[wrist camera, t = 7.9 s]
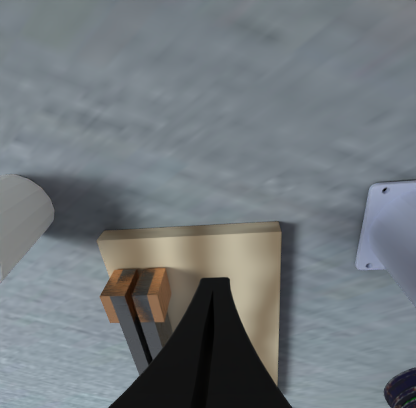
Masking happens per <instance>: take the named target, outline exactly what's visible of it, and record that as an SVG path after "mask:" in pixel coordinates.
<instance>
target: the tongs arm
mask: <svg viewBox="0 0 416 408" xmlns="http://www.w3.org/2000/svg"><path fill="white" fill-rule="evenodd" d="M132 298H133V301H134V304H135V307H136V311H137V314H138V317H139V320H140V323H141V326H142V329H143V332H144V335H145V338H146V341H147V344H148V347H149V350H150V353H151V356H152V359H154V358H155V357H156V356H157V354H158V353H159V352H160V351H161V349H162V348H163V346H164V345H165V344H166V342H167V341H168V339H169V338H170V337H171V335H172V333H173V332H172V328H171V324H170V320H169V316H168V312H167V310H168V306H169V302H170V298H171V289H170V285H169V281H168V276H167V272H166V268H152V269H143V270H142V272H141V274H140V277H139V279H138V282H137V284H136V286H135V289H134V291H133V294H132Z"/></svg>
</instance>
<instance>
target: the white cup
mask: <svg viewBox="0 0 416 408" xmlns="http://www.w3.org/2000/svg"><path fill="white" fill-rule="evenodd" d="M54 212H55V210H54V207H53V204H52V202H51V199H50V198H49V196H48V195H47V194H46V193H45V191H44V190H43V189H42V188H41V187H40V186H38V185H37V184H36V183H34V182H33V181H31V180H30V179H27V178H24V177H21V176H18V175H1V176H0V283H1V282H2V281H3V280H4V278H5V277H6V276H7V275H8V274H9V273H10V271H11V270H12V269H13V268H14V267H15V266H16V265H17V263H18V262H19V261H20V260H21V259H22V258H23V256H24V255H25V254H26V253H27V252H28V251H29V250H30V248H31V247H32V246H33V245H34V244H35V243H36V241H37V240H38V239H39V238H40V237H41V236H42V235H43V233H44V232H45V231H46V230H47V229H48V228H49V226H50V225H51V223H52V222H53V221H54Z"/></svg>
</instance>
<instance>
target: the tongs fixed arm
mask: <svg viewBox="0 0 416 408" xmlns="http://www.w3.org/2000/svg"><path fill="white" fill-rule="evenodd" d="M138 279H139V276H138V272H137V269H124V270H114V271H113V273H112V275H111V277H110V279H109V280H108V282H107V284H106V286H105V288H104V289H103V291H102V293H101V295H100V299H101V301H102V304H103V306H104V309H105V311H106V314H107V316H108V318H109V321H110V323H120V325H121V328H122V330H123V333H124V336H125V338H126V341H127V344H128V346H129V349H130V351H131V354H132V357H133V359H134V362H135V364H136V367H137V370H138V372H139V375H141V374H142V373H143V371H144V370H145V369H146V368H147V367H148V366H149V364H150V363H151V362H152V361H153V359H152V356H151V353H150V350H149V347H148V344H147V341H146V338H145V335H144V332H143V329H142V326H141V323H140V320H139V317H138V314H137V311H136V307H135V304H134V301H133V298H132V294H133V291H134V289H135V286H136V284H137V282H138Z"/></svg>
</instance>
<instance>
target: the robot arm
mask: <svg viewBox="0 0 416 408" xmlns="http://www.w3.org/2000/svg"><path fill="white" fill-rule="evenodd" d="M386 187H387V189H386V190H385V191H383V192H382V190H383V189H384V188H386ZM369 263H370V264H369ZM367 264H368V265H367ZM355 266H356V267H357V269H359V270H380V269H386V270H387V271H388V272H389V274H390V275H391V276H392V278H393V279H394V280H395V281H396V283H397V284H398V285H399V287H400V288H401V289H402V291H403V292H404V293H405V294H406V296H407V297H408V298H409V300H410V301H411V302H412V304H413V305H414V306H415V308H416V180H413V181H398V182H383V183H375V184H373V185H372V186H371V187H370V189H369V193H368V198H367V204H366V209H365V214H364V219H363V224H362V230H361V235H360V240H359V245H358V250H357V256H356V261H355ZM108 408H292V407H291V405H290V404H289V402H288V401H287V400H286V398H285V397H284V396H283V394H282V393H281V391H280V390H279V388H278V387H277V385H276V384H275V382H274V381H273V379H272V378H271V376H270V374H269V373H268V371H267V369H266V368H265V366H264V365H263V363H262V361H261V360H260V358H259V356H258V354H257V352H256V351H255V349H254V347H253V345H252V343H251V341H250V339H249V337H248V335H247V333H246V331H245V328H244V326H243V324H242V322H241V319H240V317H239V314H238V311H237V309H236V306H235V303H234V300H233V296H232V292H231V287H230V279H229V278H228V277H213V278H202V279H200V282H199V285H198V287H197V289H196V292H195V294H194V296H193V298H192V300H191V302H190V304H189V306H188V308H187V310H186V312H185V314H184V315H183V317H182V319H181V321H180V322H179V324H178V326H177V327H176V329H175V330H174V332H173V333H172V335H171V337H170V338H169V339H168V341H167V342H166V344H165V345H164V346H163V348H162V349H161V351H160V352H159V353H158V354H157V356H156V357H155V358H154V359H153V361H152V362H151V363H150V364H149V366H148V367H147V368H146V369H145V370H144V371H143V373H142V374H141V375H140V376H139V377H138V378H137V379H136V380H135V381H134V382H133V384H132V385H131V386H130V387H129V388H128V389H127V390H126V391H125V392H124V393H123V394H122V395H121V396H120V397H119V398H118V399H117V400H116V401H115V402H114V403H113V404H111V405H110V406H109V407H108Z"/></svg>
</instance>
